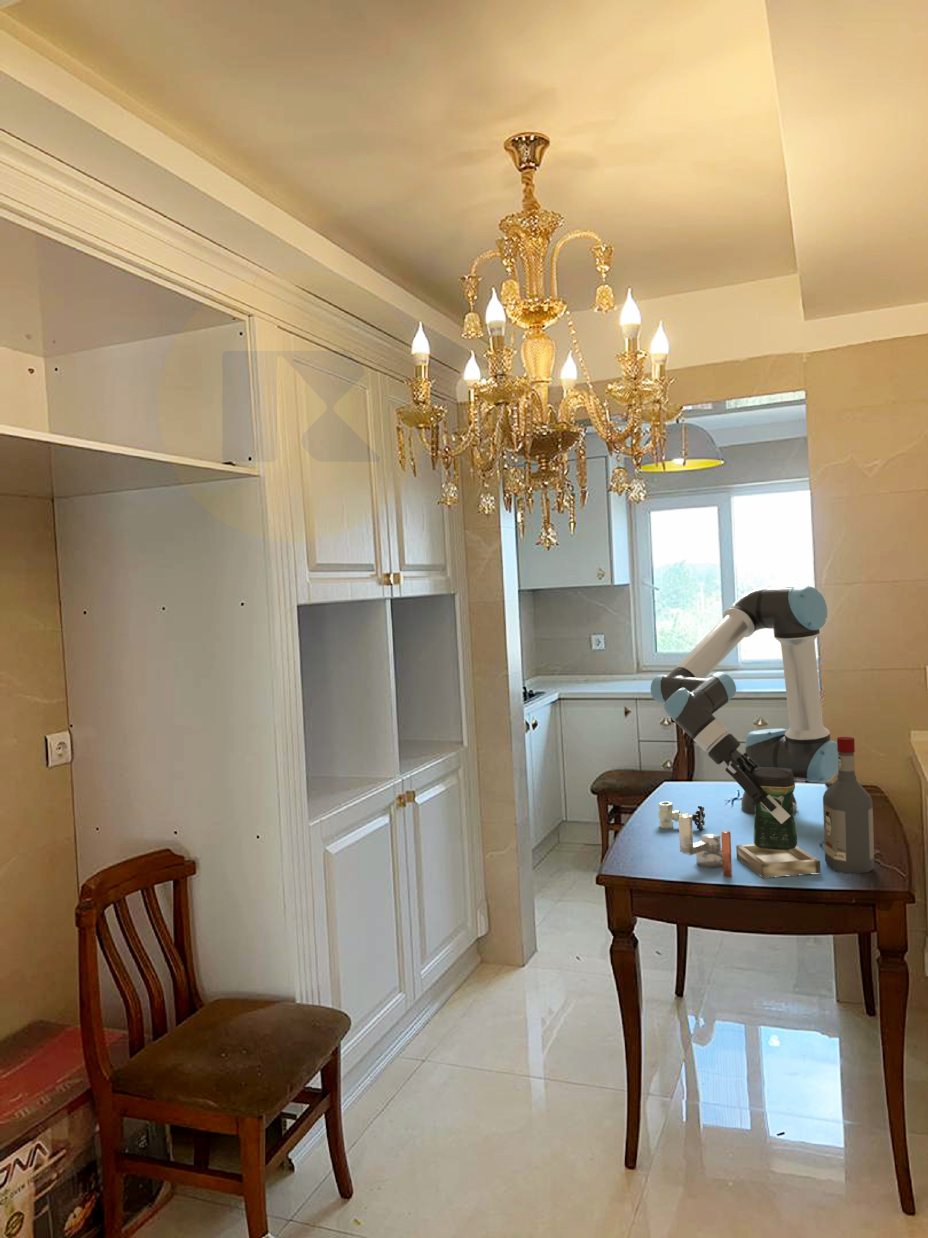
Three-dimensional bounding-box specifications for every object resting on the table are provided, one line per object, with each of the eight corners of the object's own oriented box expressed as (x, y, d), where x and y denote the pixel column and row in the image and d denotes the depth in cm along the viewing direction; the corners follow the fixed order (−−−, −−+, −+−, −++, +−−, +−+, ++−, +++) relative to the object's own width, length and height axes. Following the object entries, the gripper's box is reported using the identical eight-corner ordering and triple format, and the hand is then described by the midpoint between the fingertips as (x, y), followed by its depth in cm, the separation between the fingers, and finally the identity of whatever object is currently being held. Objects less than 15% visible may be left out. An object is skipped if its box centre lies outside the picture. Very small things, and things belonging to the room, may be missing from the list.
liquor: (859, 860, 213) (856, 733, 211) (878, 872, 204) (874, 740, 202) (821, 862, 213) (817, 735, 211) (838, 874, 203) (834, 742, 202)
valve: (655, 829, 246) (700, 833, 241) (654, 805, 246) (699, 809, 240) (662, 823, 252) (705, 827, 246) (661, 800, 252) (704, 803, 246)
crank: (709, 845, 218) (707, 806, 218) (724, 849, 215) (723, 809, 214) (675, 857, 211) (673, 816, 210) (690, 861, 207) (688, 820, 207)
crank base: (720, 858, 219) (718, 817, 219) (742, 876, 206) (741, 832, 205) (692, 860, 219) (690, 819, 218) (712, 878, 205) (711, 835, 205)
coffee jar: (799, 843, 213) (797, 765, 212) (794, 853, 206) (792, 772, 205) (756, 839, 217) (754, 763, 216) (750, 849, 210) (748, 770, 209)
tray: (789, 853, 220) (789, 841, 220) (820, 873, 205) (820, 860, 204) (736, 857, 219) (736, 845, 219) (763, 878, 203) (763, 865, 203)
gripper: (718, 745, 227) (787, 814, 220) (694, 761, 209) (768, 837, 202) (739, 725, 224) (809, 795, 217) (717, 739, 206) (792, 816, 199)
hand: (789, 815), depth 209 cm, fingers closed on coffee jar, 8 cm apart
